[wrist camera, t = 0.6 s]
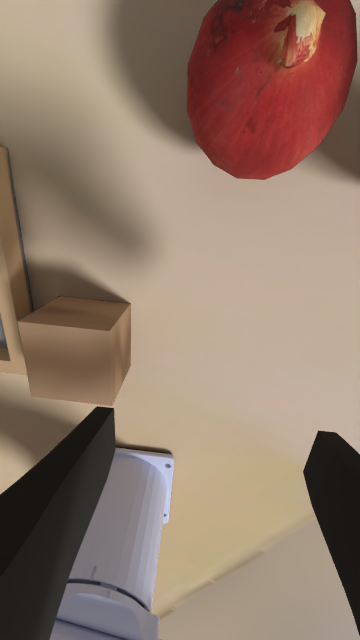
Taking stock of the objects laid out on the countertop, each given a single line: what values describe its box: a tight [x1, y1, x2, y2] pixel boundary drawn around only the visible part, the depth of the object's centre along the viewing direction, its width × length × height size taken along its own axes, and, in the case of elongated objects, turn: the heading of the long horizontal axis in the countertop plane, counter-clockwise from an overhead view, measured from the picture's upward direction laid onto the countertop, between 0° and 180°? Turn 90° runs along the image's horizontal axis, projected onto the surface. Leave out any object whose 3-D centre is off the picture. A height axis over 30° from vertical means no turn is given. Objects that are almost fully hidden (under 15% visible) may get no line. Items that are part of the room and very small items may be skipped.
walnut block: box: [17, 296, 131, 406], centre depth 17 cm, size 5×5×4 cm
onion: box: [187, 0, 357, 180], centre depth 10 cm, size 6×6×8 cm
